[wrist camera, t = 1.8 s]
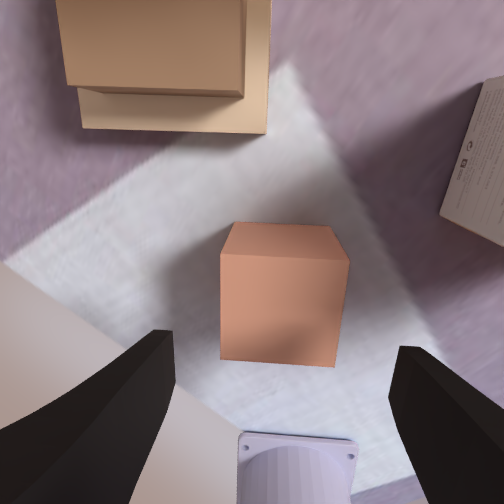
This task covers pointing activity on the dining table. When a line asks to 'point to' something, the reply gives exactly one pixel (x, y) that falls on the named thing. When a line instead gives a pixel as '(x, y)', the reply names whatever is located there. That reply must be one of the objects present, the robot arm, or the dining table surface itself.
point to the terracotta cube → (281, 294)
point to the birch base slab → (194, 107)
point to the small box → (481, 169)
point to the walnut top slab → (155, 46)
